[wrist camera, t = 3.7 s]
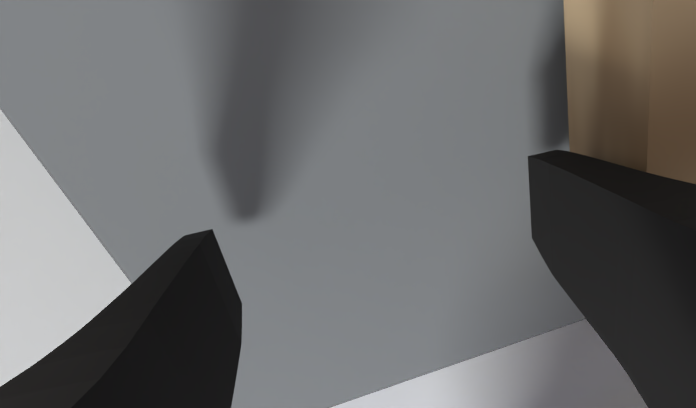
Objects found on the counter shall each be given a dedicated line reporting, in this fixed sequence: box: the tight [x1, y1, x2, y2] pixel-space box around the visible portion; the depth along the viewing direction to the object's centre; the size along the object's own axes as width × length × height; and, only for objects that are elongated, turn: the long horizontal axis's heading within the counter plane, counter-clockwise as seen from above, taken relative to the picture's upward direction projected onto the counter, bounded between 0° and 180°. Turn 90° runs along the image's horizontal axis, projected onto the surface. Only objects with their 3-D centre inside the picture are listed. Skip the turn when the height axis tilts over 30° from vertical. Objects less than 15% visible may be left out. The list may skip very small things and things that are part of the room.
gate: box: [563, 0, 696, 184], centre depth 10 cm, size 10×1×3 cm, turn 14°
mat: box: [0, 0, 586, 408], centre depth 11 cm, size 15×16×1 cm
